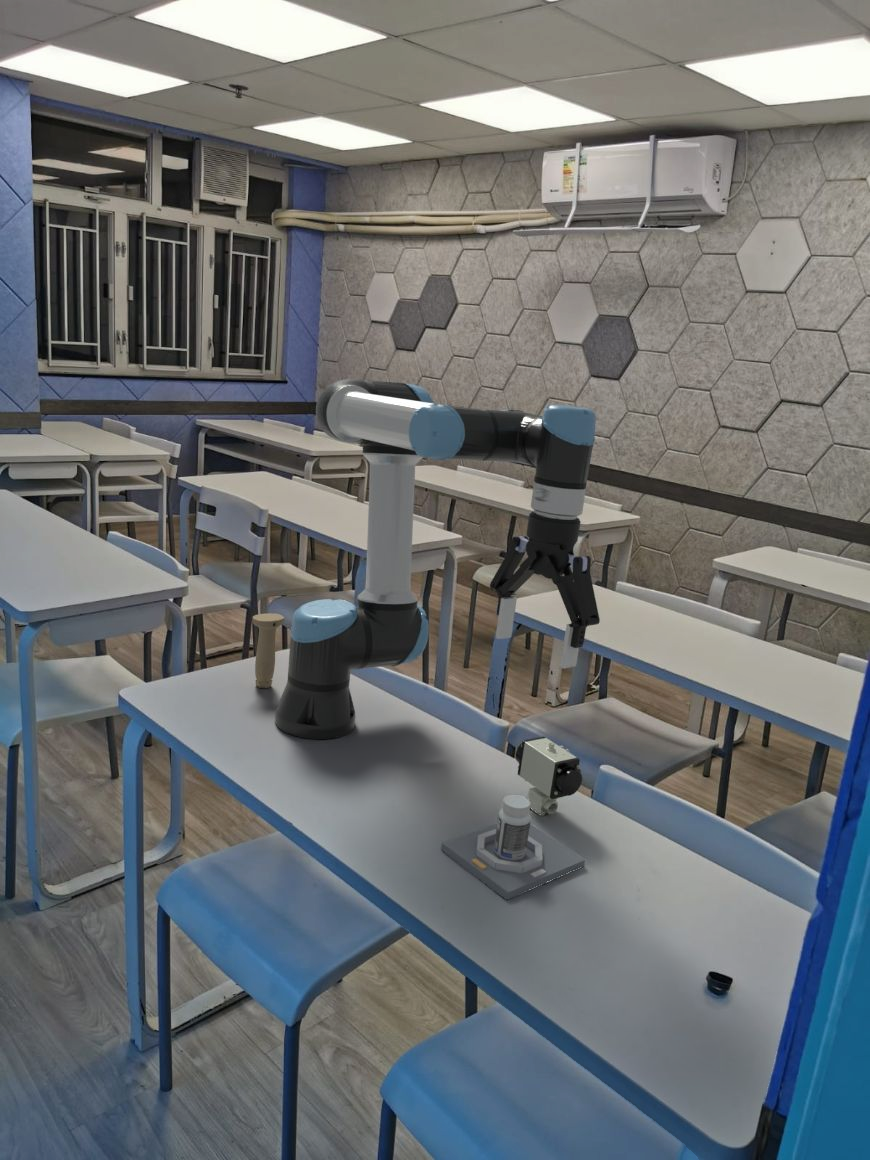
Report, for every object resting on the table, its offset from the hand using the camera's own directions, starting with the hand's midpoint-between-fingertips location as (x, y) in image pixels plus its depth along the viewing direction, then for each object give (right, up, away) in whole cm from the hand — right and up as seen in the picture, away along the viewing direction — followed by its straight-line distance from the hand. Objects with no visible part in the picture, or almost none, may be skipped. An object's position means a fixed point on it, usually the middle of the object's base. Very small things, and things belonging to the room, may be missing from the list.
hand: (534, 651), depth 132 cm
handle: (-51, -11, +49) cm, 72 cm away
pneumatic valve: (+3, -27, +12) cm, 30 cm away
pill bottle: (-4, -29, -4) cm, 30 cm away
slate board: (-4, -30, -3) cm, 31 cm away
